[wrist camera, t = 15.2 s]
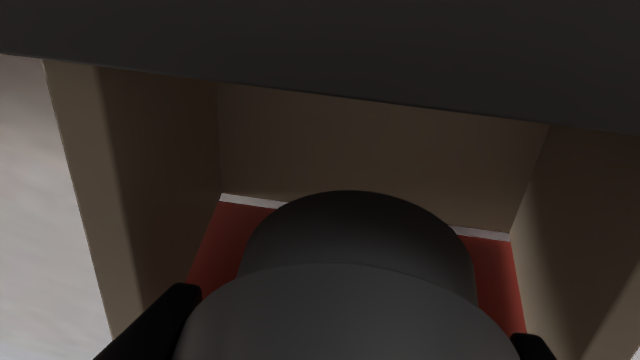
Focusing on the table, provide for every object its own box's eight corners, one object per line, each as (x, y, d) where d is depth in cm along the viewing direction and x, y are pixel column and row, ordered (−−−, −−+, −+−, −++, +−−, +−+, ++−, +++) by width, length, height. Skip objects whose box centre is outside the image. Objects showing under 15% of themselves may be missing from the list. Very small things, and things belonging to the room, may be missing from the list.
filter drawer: (482, 376, 22) (503, 585, 16) (201, 332, 22) (135, 520, 17) (751, -239, 10) (1120, -193, 5) (141, -295, 11) (-128, -309, 5)
